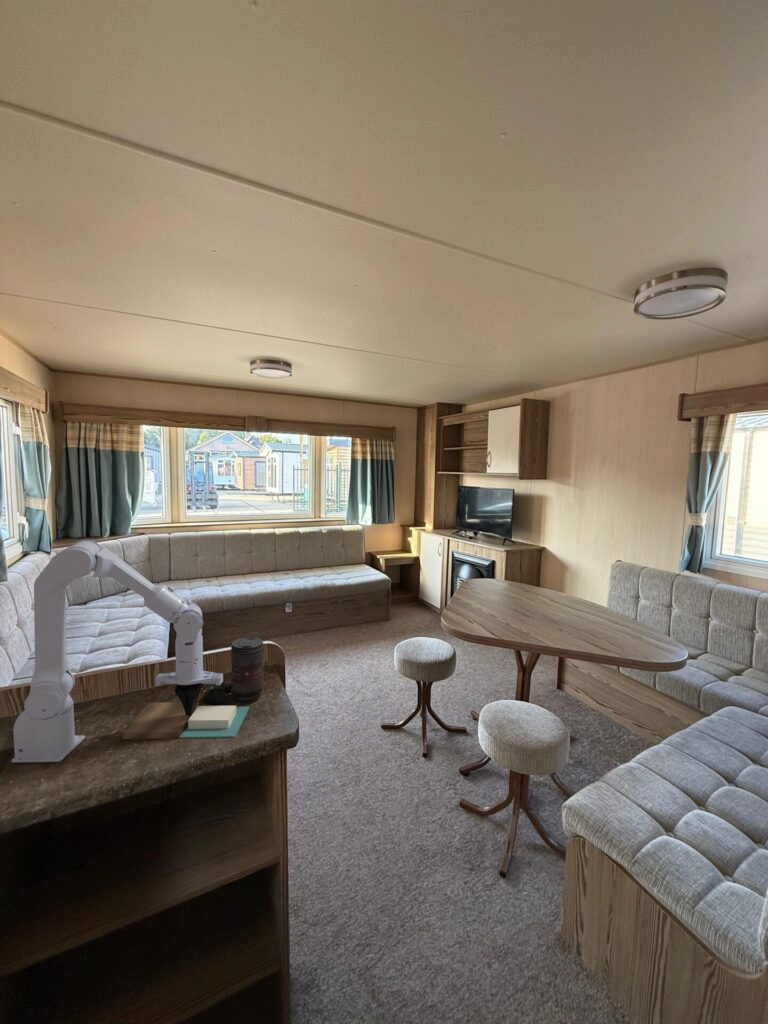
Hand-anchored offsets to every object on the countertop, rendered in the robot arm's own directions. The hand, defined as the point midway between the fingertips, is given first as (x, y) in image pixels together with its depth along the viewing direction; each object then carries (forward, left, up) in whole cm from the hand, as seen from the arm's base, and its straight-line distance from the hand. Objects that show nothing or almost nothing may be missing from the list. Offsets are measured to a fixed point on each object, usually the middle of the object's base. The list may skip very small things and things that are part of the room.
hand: (190, 713), depth 98 cm
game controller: (+3, +11, -3) cm, 12 cm away
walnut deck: (-6, 0, -2) cm, 7 cm away
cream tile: (+5, 0, -1) cm, 5 cm away
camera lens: (+10, +11, -2) cm, 15 cm away
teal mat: (+6, 0, -2) cm, 6 cm away
